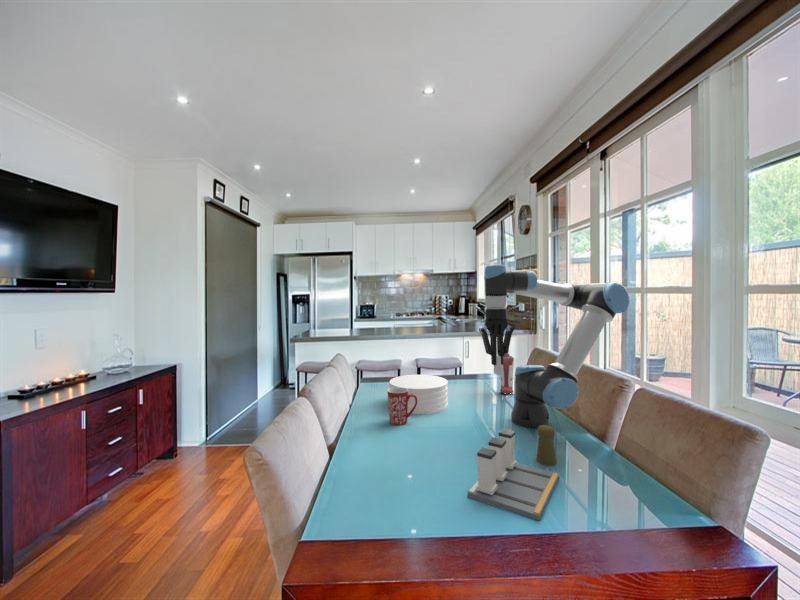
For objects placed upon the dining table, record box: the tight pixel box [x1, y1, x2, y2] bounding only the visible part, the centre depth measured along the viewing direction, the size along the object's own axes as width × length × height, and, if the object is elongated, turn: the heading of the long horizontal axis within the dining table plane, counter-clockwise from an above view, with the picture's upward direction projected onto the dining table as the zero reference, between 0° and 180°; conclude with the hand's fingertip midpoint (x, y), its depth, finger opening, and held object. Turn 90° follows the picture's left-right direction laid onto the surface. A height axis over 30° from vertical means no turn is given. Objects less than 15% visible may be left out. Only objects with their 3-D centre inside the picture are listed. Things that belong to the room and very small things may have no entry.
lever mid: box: [487, 436, 508, 481], centre depth 100 cm, size 4×4×10 cm
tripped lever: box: [498, 428, 517, 469], centre depth 107 cm, size 4×4×10 cm
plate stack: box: [389, 374, 449, 415], centre depth 172 cm, size 28×28×12 cm
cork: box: [535, 425, 557, 467], centre depth 112 cm, size 6×6×11 cm
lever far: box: [476, 447, 498, 495], centre depth 93 cm, size 4×4×10 cm
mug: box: [386, 387, 417, 426], centre depth 147 cm, size 13×9×14 cm
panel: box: [467, 462, 560, 522], centre depth 97 cm, size 18×23×1 cm
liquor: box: [499, 349, 515, 395], centre depth 188 cm, size 7×7×28 cm
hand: (497, 373), depth 128 cm, fingers closed
